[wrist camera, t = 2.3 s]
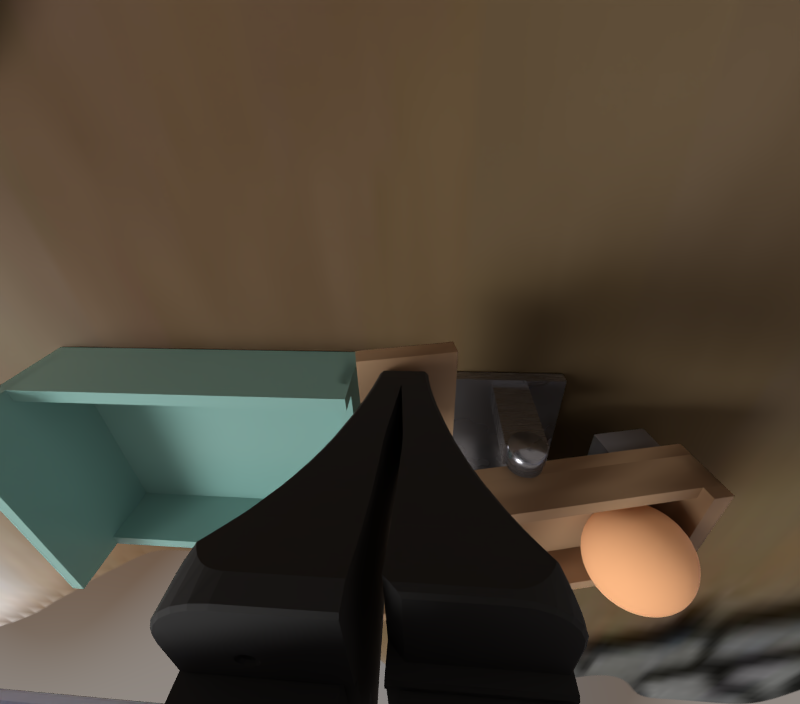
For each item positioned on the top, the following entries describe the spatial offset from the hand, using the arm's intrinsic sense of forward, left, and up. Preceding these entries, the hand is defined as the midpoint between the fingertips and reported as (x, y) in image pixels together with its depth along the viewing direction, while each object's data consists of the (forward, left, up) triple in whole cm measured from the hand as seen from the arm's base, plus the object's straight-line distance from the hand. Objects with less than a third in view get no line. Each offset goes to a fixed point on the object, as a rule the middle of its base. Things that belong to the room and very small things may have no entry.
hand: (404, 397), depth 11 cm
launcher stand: (-9, +1, -6) cm, 11 cm away
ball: (-12, -3, 0) cm, 12 cm away
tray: (0, +13, -6) cm, 14 cm away
